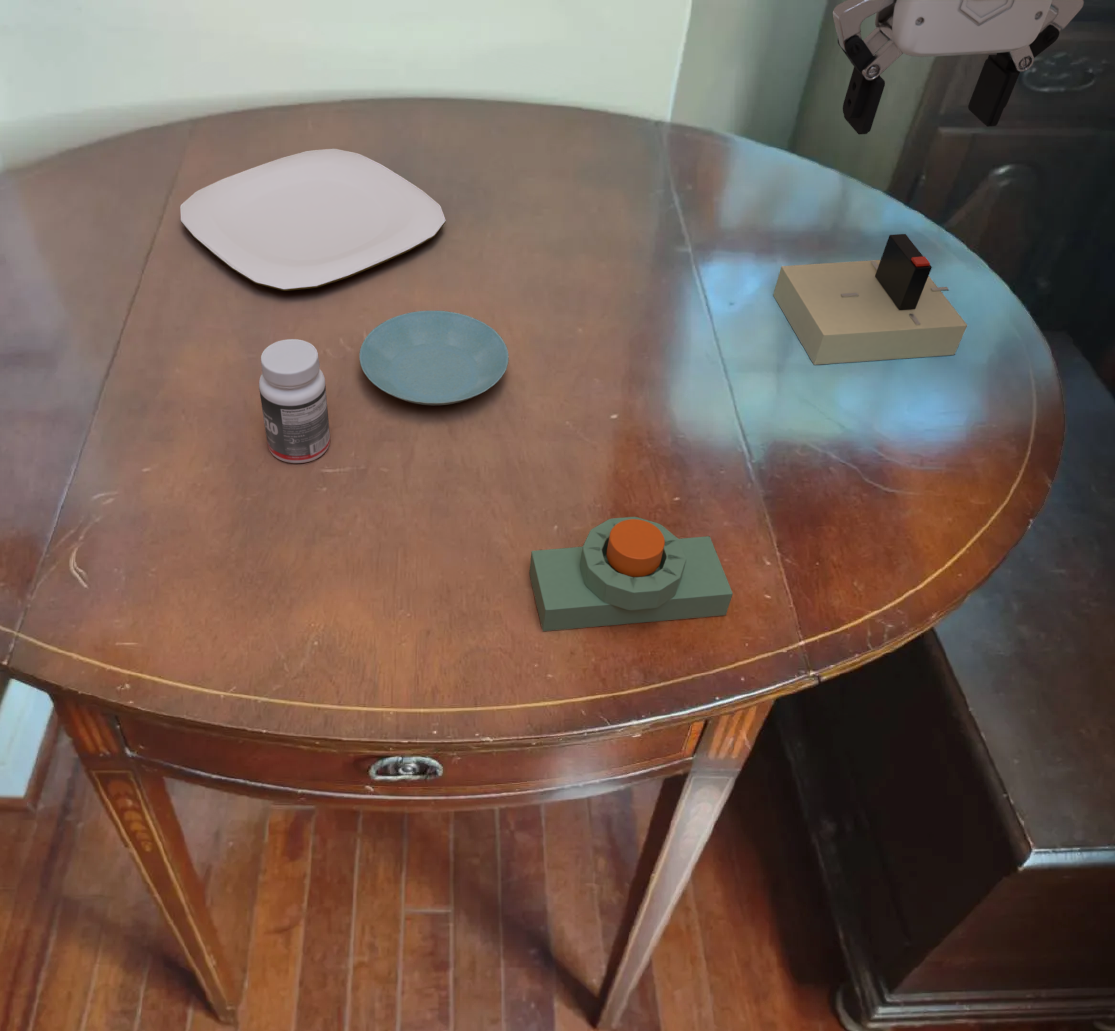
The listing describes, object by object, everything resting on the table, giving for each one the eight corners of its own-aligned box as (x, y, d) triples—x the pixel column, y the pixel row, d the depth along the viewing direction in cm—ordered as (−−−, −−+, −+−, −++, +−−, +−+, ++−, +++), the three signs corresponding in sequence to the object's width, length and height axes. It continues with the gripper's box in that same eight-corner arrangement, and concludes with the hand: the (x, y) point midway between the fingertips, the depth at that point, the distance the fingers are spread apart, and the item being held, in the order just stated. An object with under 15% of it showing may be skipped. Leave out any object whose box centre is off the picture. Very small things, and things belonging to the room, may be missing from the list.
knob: (874, 276, 89) (890, 232, 86) (890, 275, 89) (906, 230, 86) (899, 310, 86) (916, 265, 83) (915, 309, 86) (933, 264, 83)
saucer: (533, 363, 86) (535, 341, 84) (455, 444, 79) (455, 421, 77) (415, 316, 90) (414, 294, 89) (331, 388, 84) (329, 366, 82)
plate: (157, 217, 102) (153, 201, 101) (339, 150, 111) (338, 135, 110) (279, 320, 90) (277, 303, 89) (472, 235, 99) (472, 219, 98)
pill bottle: (263, 429, 80) (250, 340, 74) (324, 418, 81) (316, 330, 75) (272, 470, 77) (259, 381, 71) (336, 459, 78) (328, 370, 72)
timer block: (701, 550, 71) (712, 509, 69) (729, 623, 67) (742, 582, 64) (527, 565, 71) (531, 524, 68) (544, 639, 66) (549, 599, 63)
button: (652, 535, 68) (657, 516, 66) (666, 575, 65) (671, 556, 64) (601, 539, 67) (604, 520, 66) (613, 579, 65) (616, 561, 64)
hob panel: (910, 286, 93) (922, 255, 91) (961, 354, 86) (975, 323, 84) (772, 295, 92) (781, 264, 90) (813, 365, 86) (824, 333, 83)
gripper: (904, -122, 61) (824, 154, 74) (1180, -133, 63) (1056, 139, 75) (853, -157, 66) (786, 106, 79) (1109, -167, 68) (1004, 93, 80)
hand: (918, 122), depth 77 cm, fingers open, 9 cm apart
